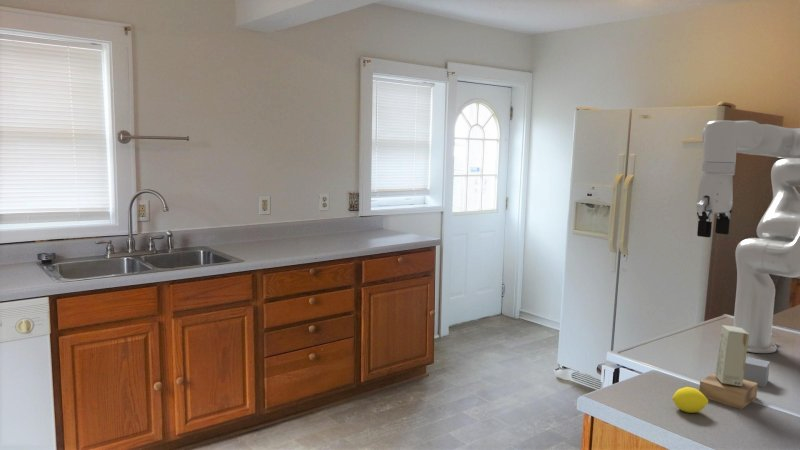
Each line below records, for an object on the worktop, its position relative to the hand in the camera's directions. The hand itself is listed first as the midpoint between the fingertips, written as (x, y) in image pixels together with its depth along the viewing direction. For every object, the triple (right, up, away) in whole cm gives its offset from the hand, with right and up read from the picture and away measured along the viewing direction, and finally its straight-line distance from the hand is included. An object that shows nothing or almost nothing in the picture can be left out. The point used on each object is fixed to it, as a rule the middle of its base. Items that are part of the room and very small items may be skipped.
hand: (713, 235), depth 152 cm
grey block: (+6, -36, -9) cm, 37 cm away
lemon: (-19, -38, -26) cm, 50 cm away
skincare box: (-6, -33, -18) cm, 38 cm away
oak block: (-6, -37, -18) cm, 42 cm away
